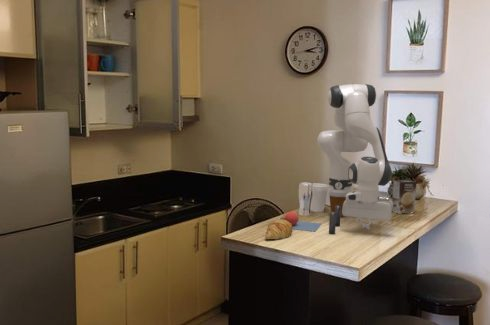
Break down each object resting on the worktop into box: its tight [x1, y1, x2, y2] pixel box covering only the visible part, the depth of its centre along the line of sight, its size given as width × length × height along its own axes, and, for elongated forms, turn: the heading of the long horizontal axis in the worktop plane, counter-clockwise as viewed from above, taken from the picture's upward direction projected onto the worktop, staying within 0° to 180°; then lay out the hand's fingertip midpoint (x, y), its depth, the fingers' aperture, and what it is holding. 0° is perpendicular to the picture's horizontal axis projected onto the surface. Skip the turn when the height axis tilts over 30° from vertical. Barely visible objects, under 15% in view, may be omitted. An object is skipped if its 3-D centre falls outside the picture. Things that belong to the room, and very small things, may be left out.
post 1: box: [328, 211, 336, 235], centre depth 214 cm, size 3×3×9 cm
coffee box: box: [391, 179, 417, 215], centre depth 254 cm, size 9×6×16 cm
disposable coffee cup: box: [329, 189, 348, 218], centre depth 245 cm, size 10×10×12 cm
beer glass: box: [298, 181, 314, 217], centre depth 246 cm, size 7×7×15 cm
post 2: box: [335, 205, 342, 228], centre depth 226 cm, size 3×3×9 cm
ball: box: [285, 211, 299, 225], centre depth 225 cm, size 6×6×6 cm
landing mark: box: [292, 220, 322, 233], centre depth 225 cm, size 14×14×1 cm
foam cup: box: [311, 182, 329, 213], centre depth 254 cm, size 10×9×13 cm
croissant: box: [264, 218, 294, 240], centre depth 210 cm, size 21×10×8 cm, turn 150°
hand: (365, 228), depth 216 cm, fingers closed
